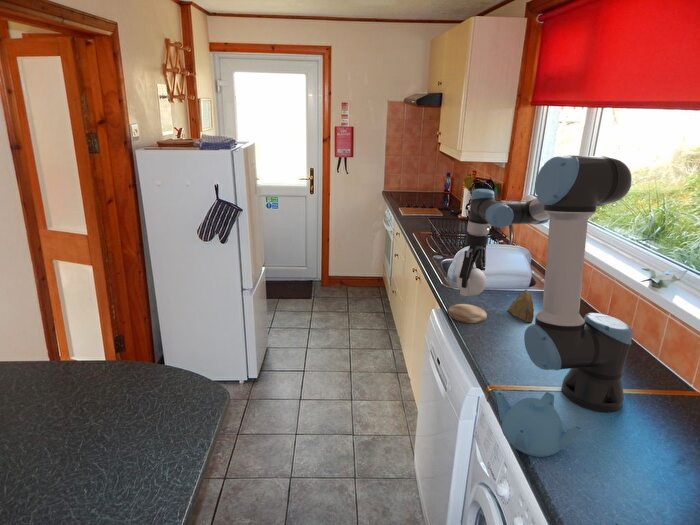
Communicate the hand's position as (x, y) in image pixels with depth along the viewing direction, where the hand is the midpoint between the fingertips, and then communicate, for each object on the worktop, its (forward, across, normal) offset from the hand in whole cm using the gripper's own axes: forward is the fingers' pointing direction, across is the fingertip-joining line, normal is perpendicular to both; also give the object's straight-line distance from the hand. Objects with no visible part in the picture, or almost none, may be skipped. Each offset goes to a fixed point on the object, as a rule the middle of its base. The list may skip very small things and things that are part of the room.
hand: (470, 290), depth 171 cm
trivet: (+10, 0, 0) cm, 10 cm away
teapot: (+10, -54, -41) cm, 69 cm away
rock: (+10, +12, -16) cm, 22 cm away
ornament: (+2, 0, 0) cm, 2 cm away
